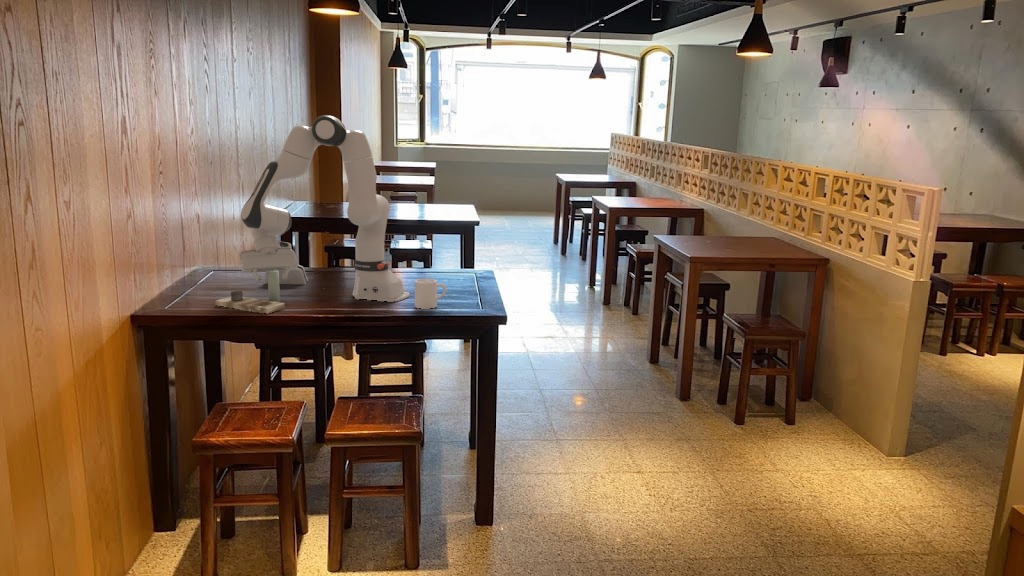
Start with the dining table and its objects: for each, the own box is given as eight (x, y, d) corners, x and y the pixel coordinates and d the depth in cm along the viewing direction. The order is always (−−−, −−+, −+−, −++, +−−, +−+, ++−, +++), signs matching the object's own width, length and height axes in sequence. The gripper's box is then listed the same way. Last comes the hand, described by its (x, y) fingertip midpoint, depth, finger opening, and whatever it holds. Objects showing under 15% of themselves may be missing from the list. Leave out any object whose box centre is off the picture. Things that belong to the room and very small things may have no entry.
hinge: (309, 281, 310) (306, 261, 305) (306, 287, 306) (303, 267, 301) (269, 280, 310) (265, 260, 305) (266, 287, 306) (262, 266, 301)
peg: (282, 302, 276) (281, 270, 273) (275, 304, 272) (273, 272, 270) (274, 300, 277) (272, 269, 275) (266, 303, 274) (265, 271, 271)
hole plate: (284, 308, 267) (284, 295, 266) (267, 314, 259) (267, 300, 258) (233, 300, 276) (232, 287, 275) (215, 305, 268) (214, 292, 267)
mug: (445, 310, 270) (445, 284, 268) (413, 308, 271) (412, 282, 269) (448, 304, 278) (448, 279, 276) (417, 303, 279) (417, 278, 277)
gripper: (238, 246, 274) (243, 277, 268) (295, 243, 283) (301, 273, 277) (237, 255, 279) (242, 286, 273) (293, 252, 288) (299, 282, 282)
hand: (272, 279), depth 275 cm, fingers open, 8 cm apart
